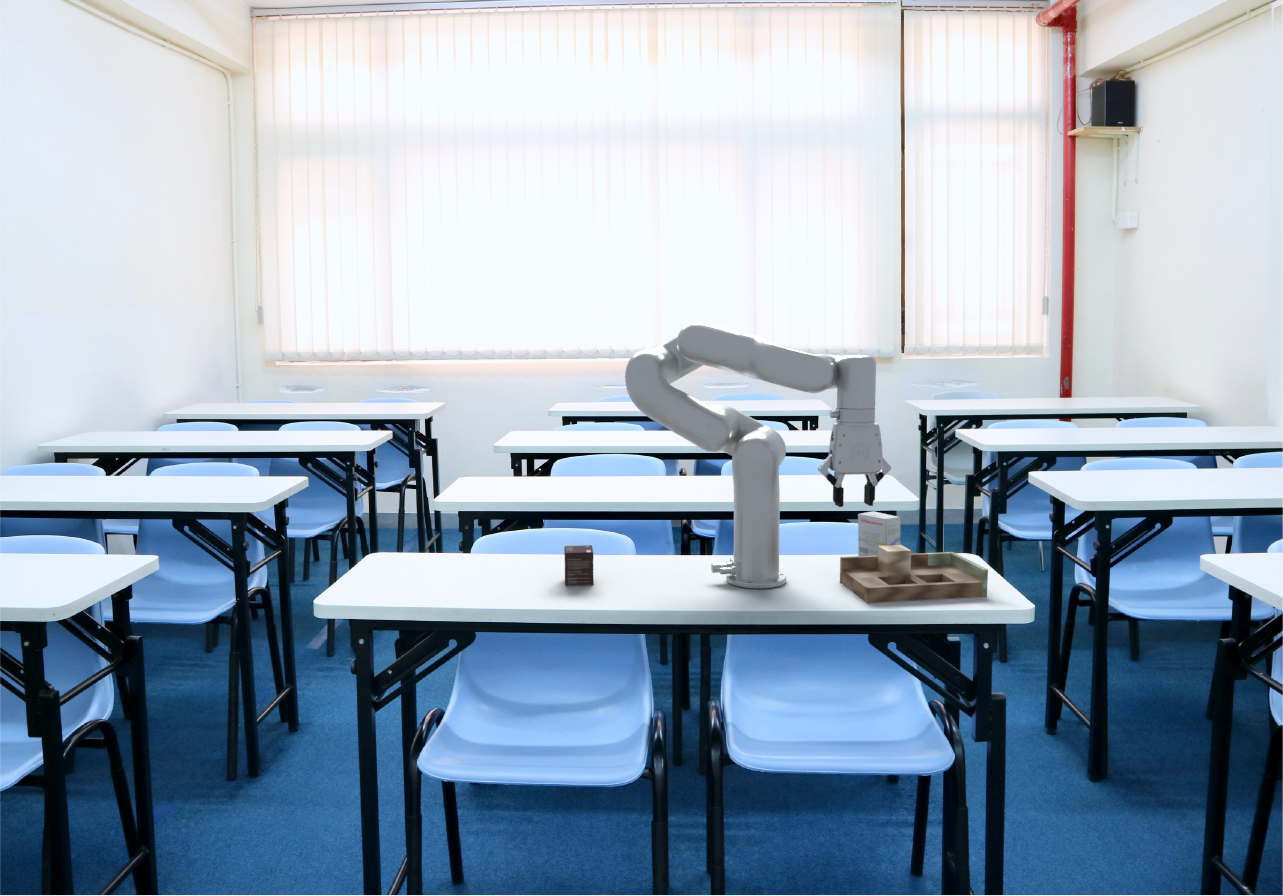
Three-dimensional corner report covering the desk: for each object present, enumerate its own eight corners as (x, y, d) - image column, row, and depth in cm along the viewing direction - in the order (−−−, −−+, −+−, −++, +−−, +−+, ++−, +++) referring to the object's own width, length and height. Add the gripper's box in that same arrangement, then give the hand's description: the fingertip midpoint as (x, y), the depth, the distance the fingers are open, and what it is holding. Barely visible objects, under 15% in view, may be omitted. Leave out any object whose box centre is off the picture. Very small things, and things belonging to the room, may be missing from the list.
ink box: (901, 569, 214) (903, 516, 212) (885, 572, 211) (887, 519, 210) (872, 561, 221) (873, 510, 220) (856, 564, 218) (857, 513, 217)
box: (564, 579, 208) (564, 545, 207) (592, 578, 209) (592, 544, 208) (565, 586, 202) (564, 552, 201) (593, 585, 203) (593, 551, 202)
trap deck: (866, 603, 189) (867, 575, 188) (839, 582, 204) (840, 557, 203) (986, 596, 192) (988, 569, 192) (952, 577, 207) (952, 551, 206)
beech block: (887, 575, 197) (887, 551, 197) (877, 569, 202) (878, 545, 202) (910, 574, 198) (911, 550, 198) (900, 568, 203) (901, 544, 202)
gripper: (820, 419, 190) (819, 510, 192) (904, 417, 192) (901, 507, 195) (808, 415, 197) (807, 503, 200) (888, 414, 200) (886, 500, 202)
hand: (853, 504), depth 197 cm, fingers open, 5 cm apart
